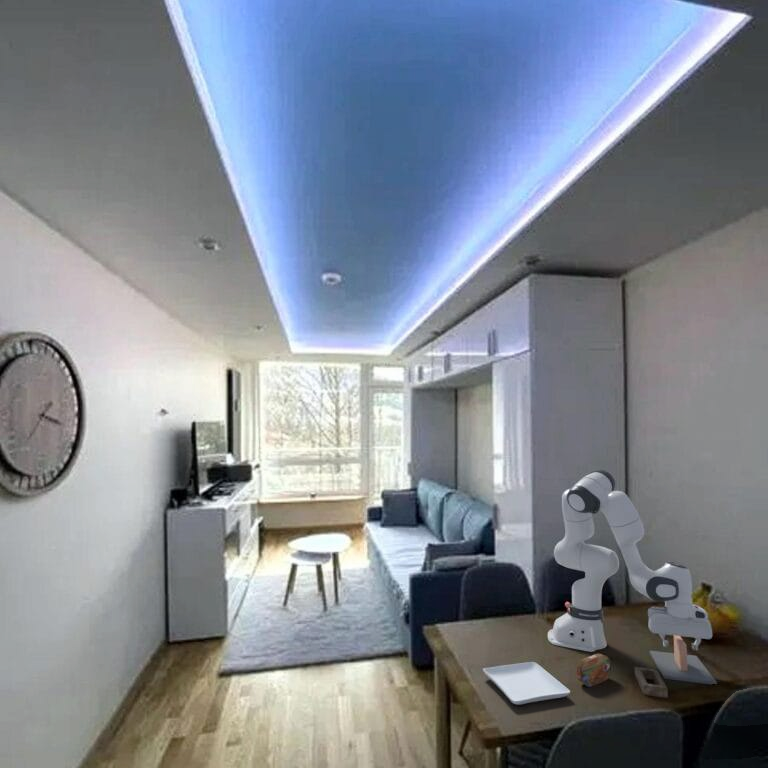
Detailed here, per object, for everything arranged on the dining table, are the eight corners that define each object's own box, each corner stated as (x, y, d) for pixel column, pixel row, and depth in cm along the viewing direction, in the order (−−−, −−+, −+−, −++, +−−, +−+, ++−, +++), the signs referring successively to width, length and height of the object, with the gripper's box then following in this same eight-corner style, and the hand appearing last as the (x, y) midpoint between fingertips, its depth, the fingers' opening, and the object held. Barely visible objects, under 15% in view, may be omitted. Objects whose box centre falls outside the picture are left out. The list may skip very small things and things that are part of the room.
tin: (583, 689, 166) (582, 663, 167) (575, 685, 169) (574, 659, 170) (612, 678, 174) (611, 653, 174) (604, 674, 176) (603, 650, 177)
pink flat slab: (681, 670, 178) (680, 643, 178) (674, 659, 185) (673, 634, 186) (687, 670, 177) (686, 644, 178) (680, 660, 185) (679, 635, 186)
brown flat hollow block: (643, 694, 163) (643, 685, 163) (634, 675, 176) (634, 666, 176) (667, 697, 161) (667, 688, 162) (656, 678, 174) (656, 669, 174)
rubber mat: (664, 678, 174) (664, 675, 174) (649, 653, 193) (649, 650, 193) (716, 685, 170) (716, 682, 170) (696, 658, 189) (696, 655, 189)
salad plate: (572, 701, 159) (572, 690, 160) (513, 712, 153) (513, 700, 154) (534, 670, 180) (534, 660, 180) (481, 678, 174) (481, 668, 174)
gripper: (649, 608, 183) (651, 648, 182) (713, 614, 177) (714, 655, 176) (645, 602, 189) (646, 640, 188) (706, 608, 183) (708, 647, 182)
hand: (680, 647), depth 182 cm, fingers open, 8 cm apart
